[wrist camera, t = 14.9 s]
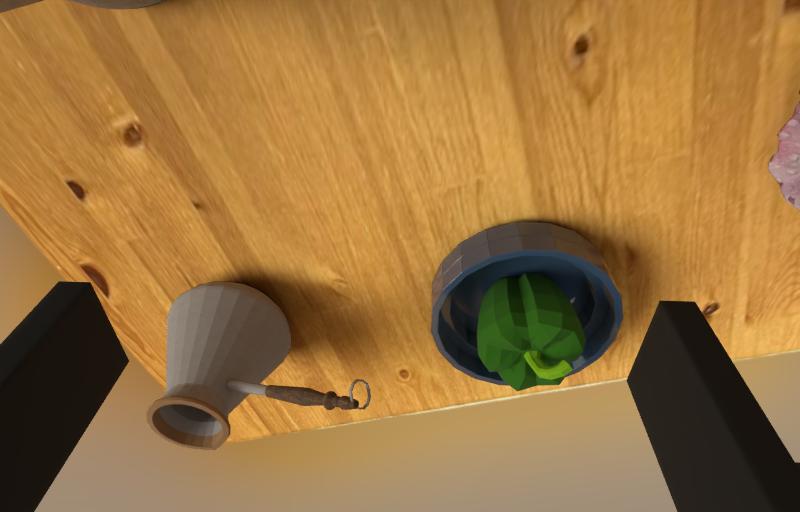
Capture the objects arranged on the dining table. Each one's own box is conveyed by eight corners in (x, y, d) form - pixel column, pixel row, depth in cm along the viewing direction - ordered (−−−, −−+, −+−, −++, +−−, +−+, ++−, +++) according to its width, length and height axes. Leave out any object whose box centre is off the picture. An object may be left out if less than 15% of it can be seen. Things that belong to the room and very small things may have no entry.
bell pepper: (481, 333, 48) (490, 423, 40) (465, 268, 43) (472, 354, 35) (571, 320, 46) (599, 411, 38) (564, 250, 42) (595, 337, 34)
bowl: (428, 346, 50) (428, 382, 47) (435, 215, 41) (435, 246, 37) (585, 352, 50) (597, 389, 46) (628, 220, 40) (647, 253, 37)
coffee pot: (226, 363, 54) (166, 501, 42) (155, 286, 48) (61, 422, 36) (408, 310, 48) (400, 453, 36) (353, 215, 42) (321, 349, 30)
